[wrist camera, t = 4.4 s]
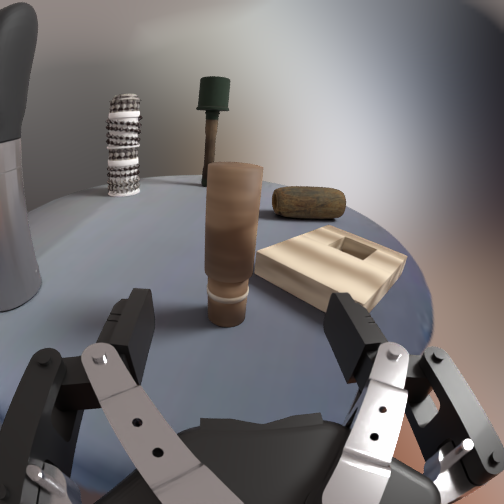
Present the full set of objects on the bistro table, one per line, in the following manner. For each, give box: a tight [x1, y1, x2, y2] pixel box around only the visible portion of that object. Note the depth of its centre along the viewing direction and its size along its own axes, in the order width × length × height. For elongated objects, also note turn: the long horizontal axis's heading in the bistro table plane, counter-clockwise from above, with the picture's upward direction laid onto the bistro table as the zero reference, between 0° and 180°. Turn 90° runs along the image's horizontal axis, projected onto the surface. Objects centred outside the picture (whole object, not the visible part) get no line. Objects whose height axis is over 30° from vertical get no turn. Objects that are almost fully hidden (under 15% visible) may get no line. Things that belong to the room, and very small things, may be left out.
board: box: [254, 225, 407, 313], centre depth 35 cm, size 17×14×3 cm
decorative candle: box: [106, 94, 142, 197], centre depth 59 cm, size 9×9×25 cm
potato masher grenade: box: [196, 76, 230, 187], centre depth 69 cm, size 8×9×30 cm
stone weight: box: [272, 186, 346, 219], centre depth 56 cm, size 15×7×7 cm, turn 104°
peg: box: [205, 162, 263, 327], centre depth 24 cm, size 4×4×14 cm
